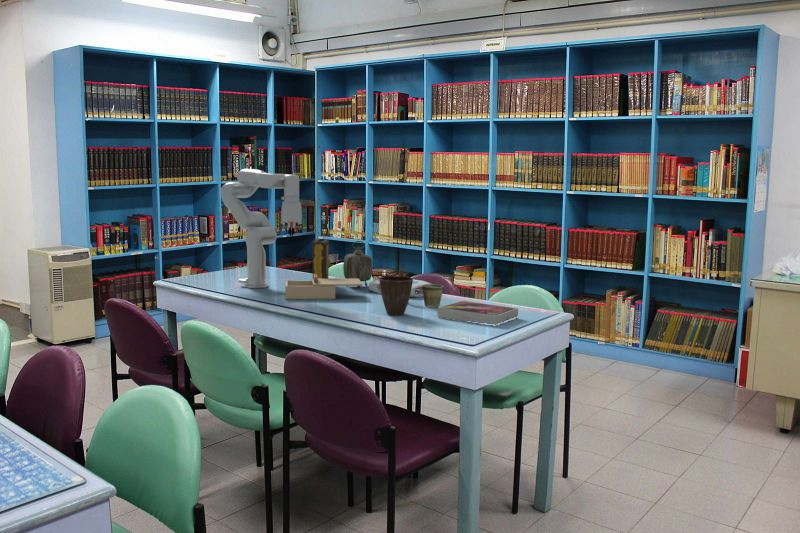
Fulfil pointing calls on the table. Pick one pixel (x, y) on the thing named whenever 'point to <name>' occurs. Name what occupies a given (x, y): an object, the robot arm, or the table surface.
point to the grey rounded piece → (358, 265)
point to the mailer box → (307, 290)
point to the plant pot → (395, 293)
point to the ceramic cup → (432, 295)
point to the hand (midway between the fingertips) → (291, 235)
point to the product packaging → (477, 312)
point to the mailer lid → (335, 282)
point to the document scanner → (375, 287)
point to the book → (321, 258)
